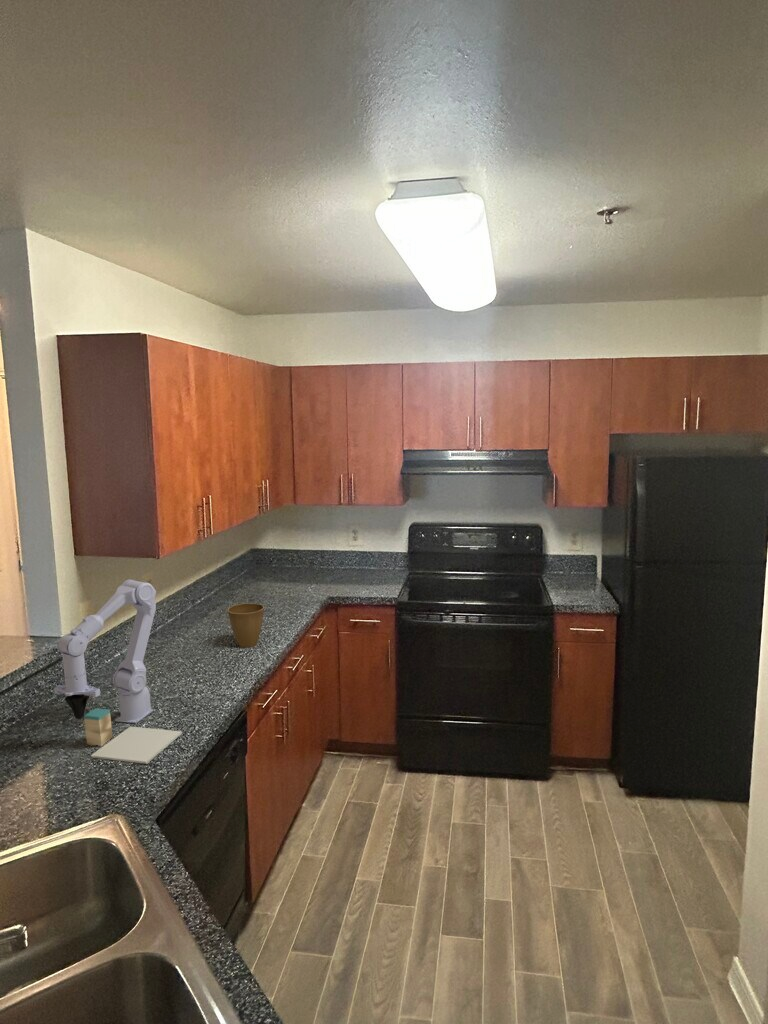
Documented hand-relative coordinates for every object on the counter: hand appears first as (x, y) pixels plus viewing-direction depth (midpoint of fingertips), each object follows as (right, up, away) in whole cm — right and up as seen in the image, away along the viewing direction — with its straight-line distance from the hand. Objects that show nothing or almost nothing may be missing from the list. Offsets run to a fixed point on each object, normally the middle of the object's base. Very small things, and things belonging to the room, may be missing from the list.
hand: (79, 717), depth 196 cm
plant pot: (+34, +5, +80) cm, 87 cm away
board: (+19, -7, -4) cm, 20 cm away
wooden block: (+6, -7, -1) cm, 9 cm away
